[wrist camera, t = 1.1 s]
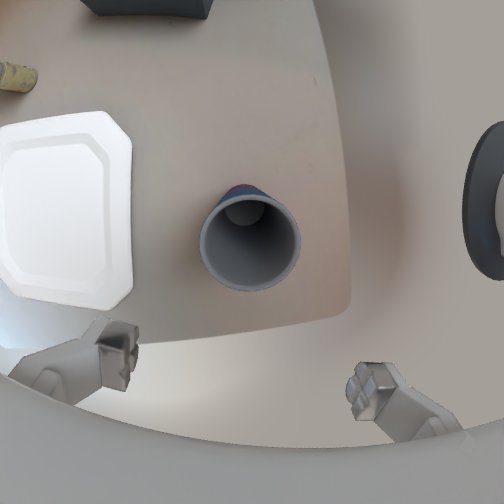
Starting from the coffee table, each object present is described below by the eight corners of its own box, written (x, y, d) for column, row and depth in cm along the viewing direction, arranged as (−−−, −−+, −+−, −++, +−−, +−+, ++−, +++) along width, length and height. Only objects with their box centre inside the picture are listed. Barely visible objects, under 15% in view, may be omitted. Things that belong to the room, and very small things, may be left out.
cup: (270, 172, 33) (296, 188, 19) (277, 230, 35) (304, 284, 21) (210, 181, 33) (190, 202, 19) (219, 238, 35) (208, 297, 21)
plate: (6, 287, 36) (-2, 293, 34) (-7, 129, 28) (-16, 130, 26) (139, 307, 38) (135, 315, 36) (140, 110, 30) (133, 108, 28)
